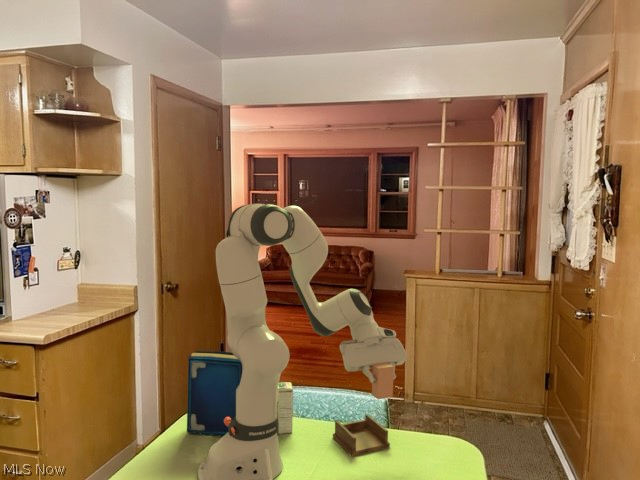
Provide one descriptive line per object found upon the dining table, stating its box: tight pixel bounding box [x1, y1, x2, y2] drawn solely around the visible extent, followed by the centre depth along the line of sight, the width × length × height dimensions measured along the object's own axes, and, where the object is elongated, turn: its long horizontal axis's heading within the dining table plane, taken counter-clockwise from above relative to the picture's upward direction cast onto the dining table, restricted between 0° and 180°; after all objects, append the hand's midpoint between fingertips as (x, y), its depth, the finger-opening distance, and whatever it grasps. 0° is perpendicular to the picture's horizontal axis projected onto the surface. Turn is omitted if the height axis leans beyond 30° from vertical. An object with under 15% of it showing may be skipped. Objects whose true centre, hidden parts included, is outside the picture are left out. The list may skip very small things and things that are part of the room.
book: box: [186, 350, 242, 437], centre depth 142 cm, size 22×7×25 cm, turn 84°
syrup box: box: [277, 381, 294, 435], centre depth 144 cm, size 6×6×14 cm
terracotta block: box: [371, 363, 394, 400], centre depth 131 cm, size 5×3×9 cm
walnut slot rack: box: [332, 413, 391, 457], centre depth 136 cm, size 13×12×5 cm
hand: (383, 380), depth 130 cm, fingers closed on terracotta block, 5 cm apart
